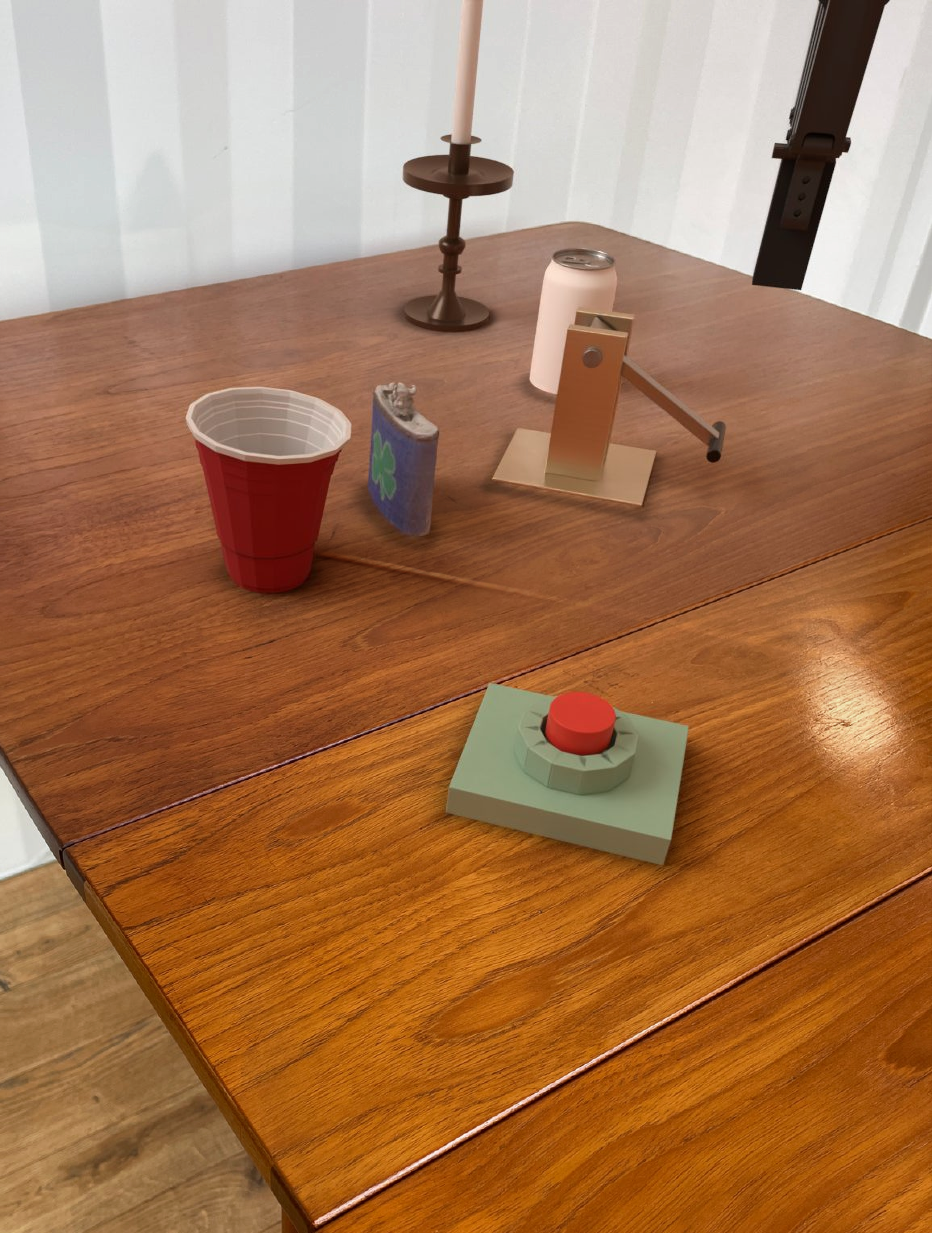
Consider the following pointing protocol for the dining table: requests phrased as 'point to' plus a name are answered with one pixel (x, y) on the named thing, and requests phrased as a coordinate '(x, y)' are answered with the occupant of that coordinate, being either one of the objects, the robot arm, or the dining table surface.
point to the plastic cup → (267, 478)
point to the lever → (672, 405)
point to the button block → (570, 778)
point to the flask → (402, 459)
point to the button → (580, 723)
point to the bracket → (584, 422)
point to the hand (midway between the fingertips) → (776, 282)
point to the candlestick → (456, 189)
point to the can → (568, 306)
